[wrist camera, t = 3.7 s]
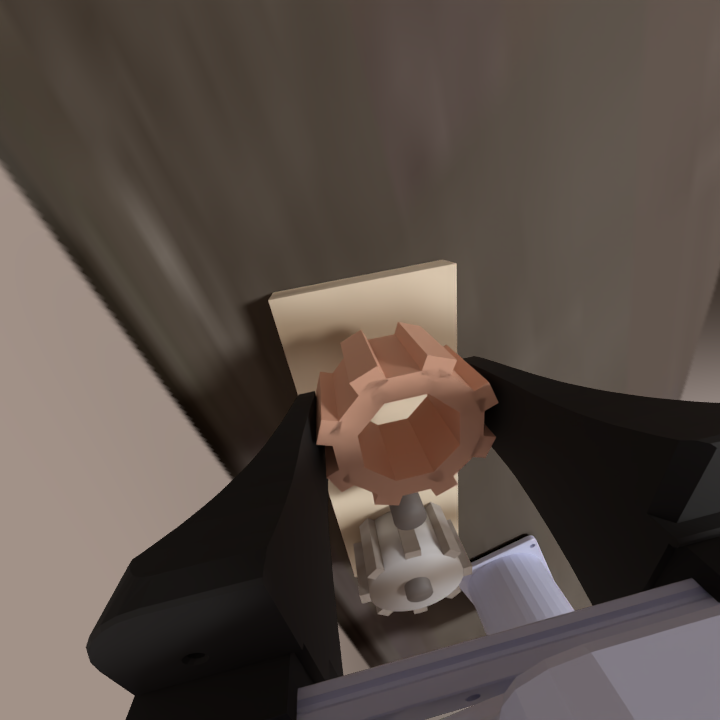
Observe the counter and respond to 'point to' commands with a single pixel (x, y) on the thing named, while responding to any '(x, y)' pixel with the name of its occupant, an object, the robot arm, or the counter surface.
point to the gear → (407, 436)
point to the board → (356, 505)
